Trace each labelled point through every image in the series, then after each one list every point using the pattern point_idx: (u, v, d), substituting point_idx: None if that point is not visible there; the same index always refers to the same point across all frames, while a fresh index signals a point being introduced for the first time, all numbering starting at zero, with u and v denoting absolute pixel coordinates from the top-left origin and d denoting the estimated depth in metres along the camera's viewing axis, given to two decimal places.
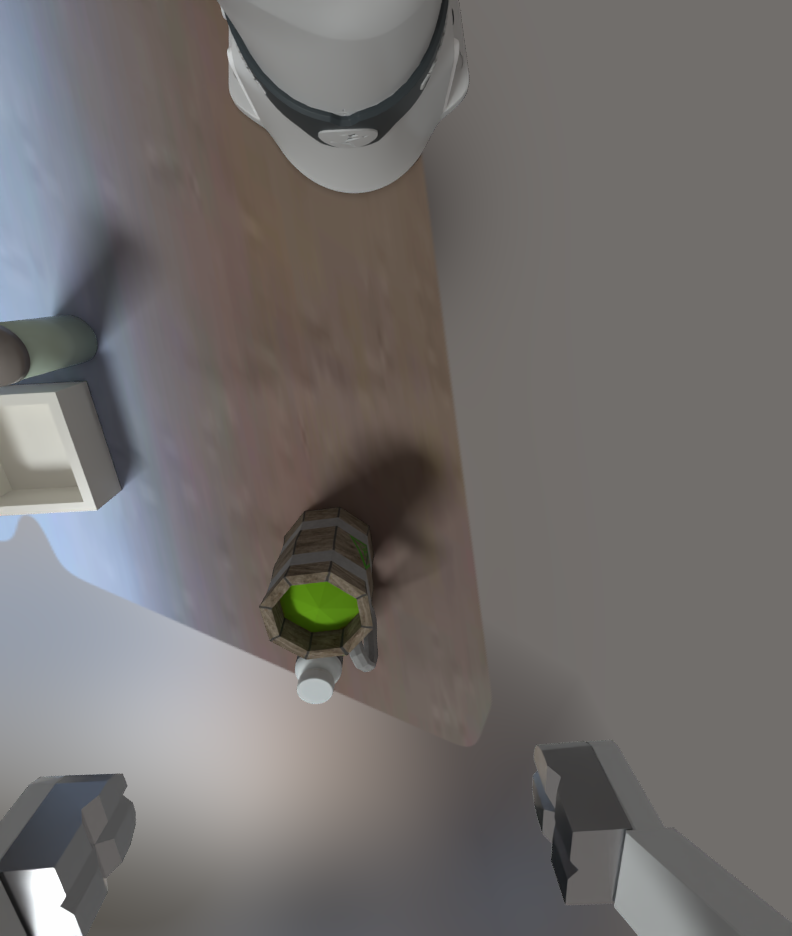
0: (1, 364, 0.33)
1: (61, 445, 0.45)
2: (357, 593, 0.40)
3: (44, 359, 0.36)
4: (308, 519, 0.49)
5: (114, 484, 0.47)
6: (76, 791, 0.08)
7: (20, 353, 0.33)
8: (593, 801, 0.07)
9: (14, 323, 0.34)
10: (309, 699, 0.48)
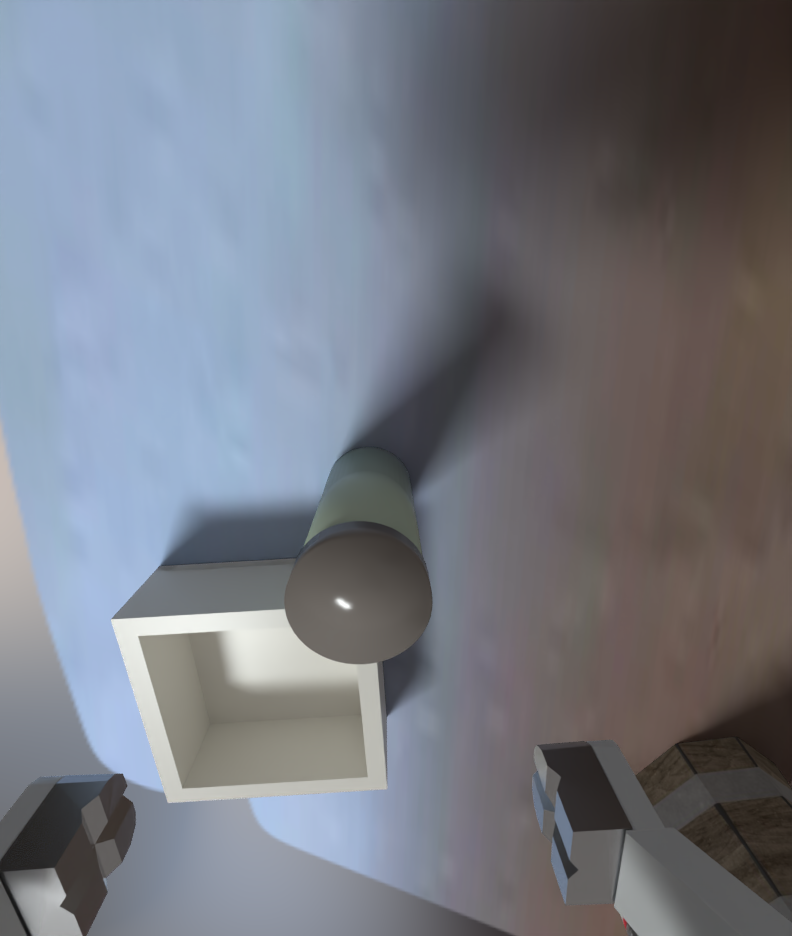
0: (390, 620, 0.14)
1: (310, 656, 0.26)
2: None
3: None
4: (702, 768, 0.28)
5: (385, 715, 0.27)
6: (76, 791, 0.08)
7: None
8: (592, 800, 0.07)
9: (380, 506, 0.16)
10: None
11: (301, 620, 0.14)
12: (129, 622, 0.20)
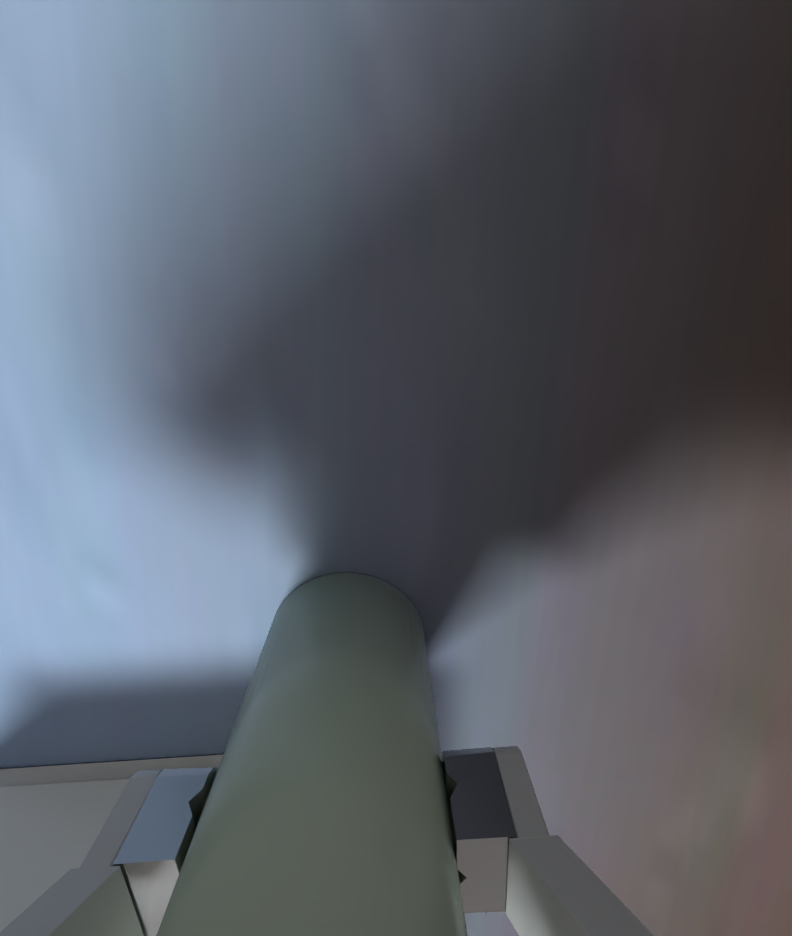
0: None
1: None
2: None
3: None
4: None
5: None
6: (179, 784, 0.08)
7: None
8: (484, 808, 0.07)
9: (356, 915, 0.05)
10: None
11: None
12: None
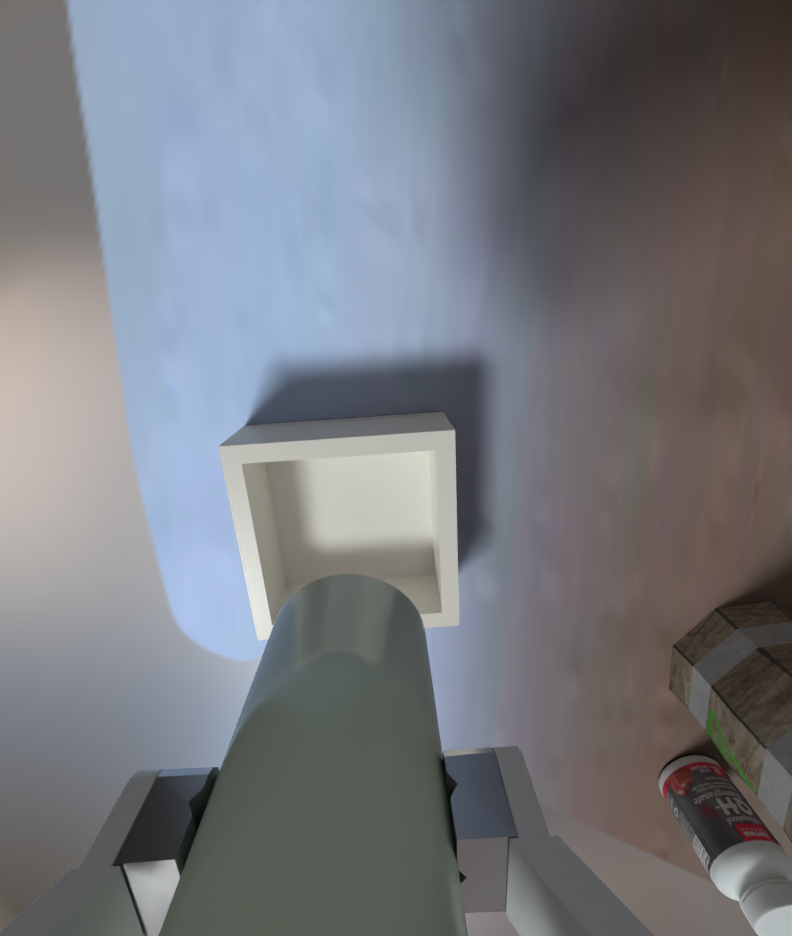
0: None
1: (381, 515, 0.28)
2: None
3: None
4: (742, 624, 0.30)
5: None
6: (179, 784, 0.08)
7: None
8: (483, 808, 0.07)
9: (357, 917, 0.05)
10: (771, 935, 0.29)
11: None
12: (234, 449, 0.22)
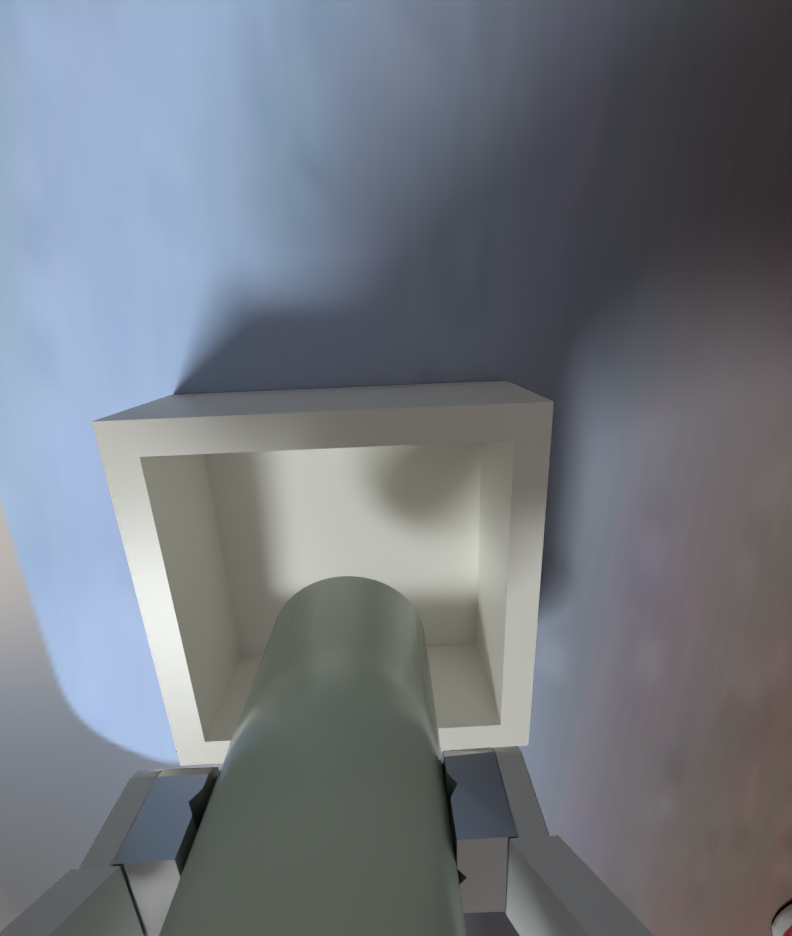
0: None
1: (397, 549, 0.17)
2: None
3: None
4: None
5: None
6: (179, 784, 0.08)
7: None
8: (483, 808, 0.07)
9: (355, 921, 0.05)
10: None
11: None
12: (125, 428, 0.11)
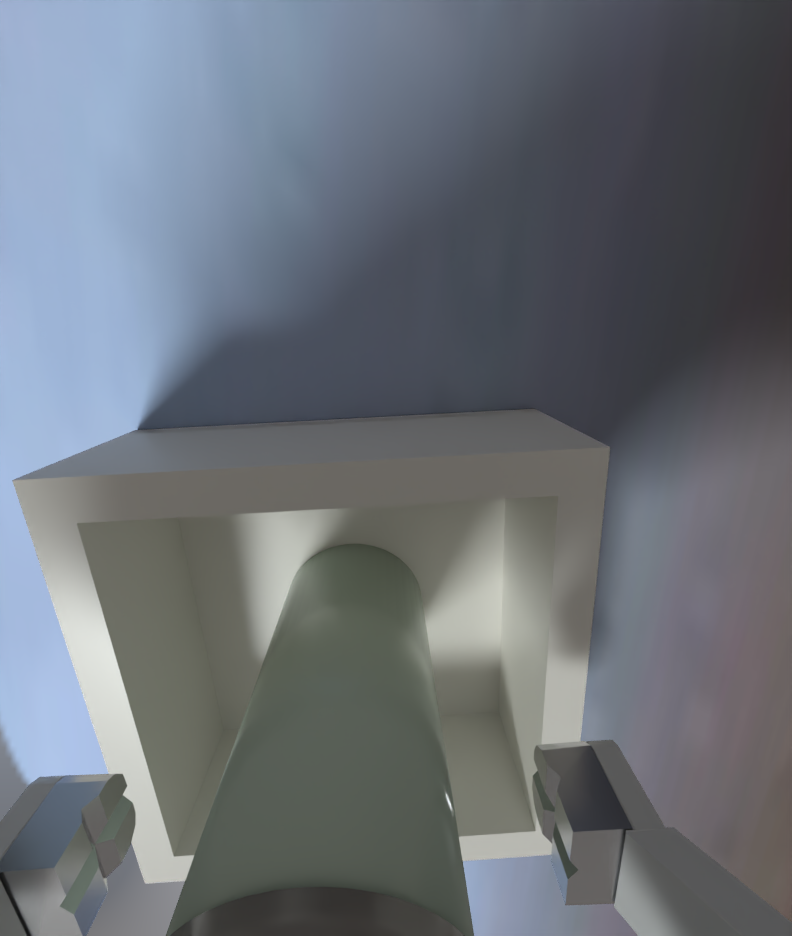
0: None
1: None
2: None
3: None
4: None
5: None
6: (76, 791, 0.08)
7: None
8: (593, 800, 0.07)
9: (369, 765, 0.07)
10: None
11: None
12: (56, 488, 0.09)
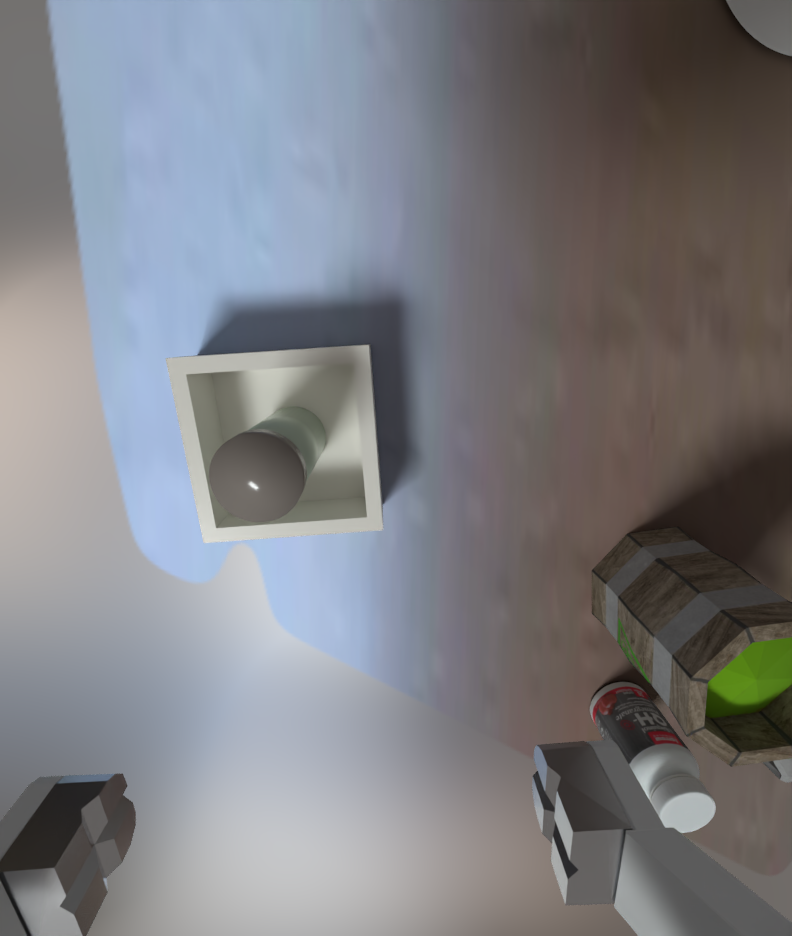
0: (277, 490, 0.22)
1: None
2: None
3: (309, 474, 0.25)
4: (647, 544, 0.34)
5: None
6: (76, 791, 0.08)
7: (304, 472, 0.22)
8: (593, 800, 0.07)
9: (279, 426, 0.24)
10: (676, 826, 0.31)
11: (220, 490, 0.22)
12: (180, 361, 0.26)
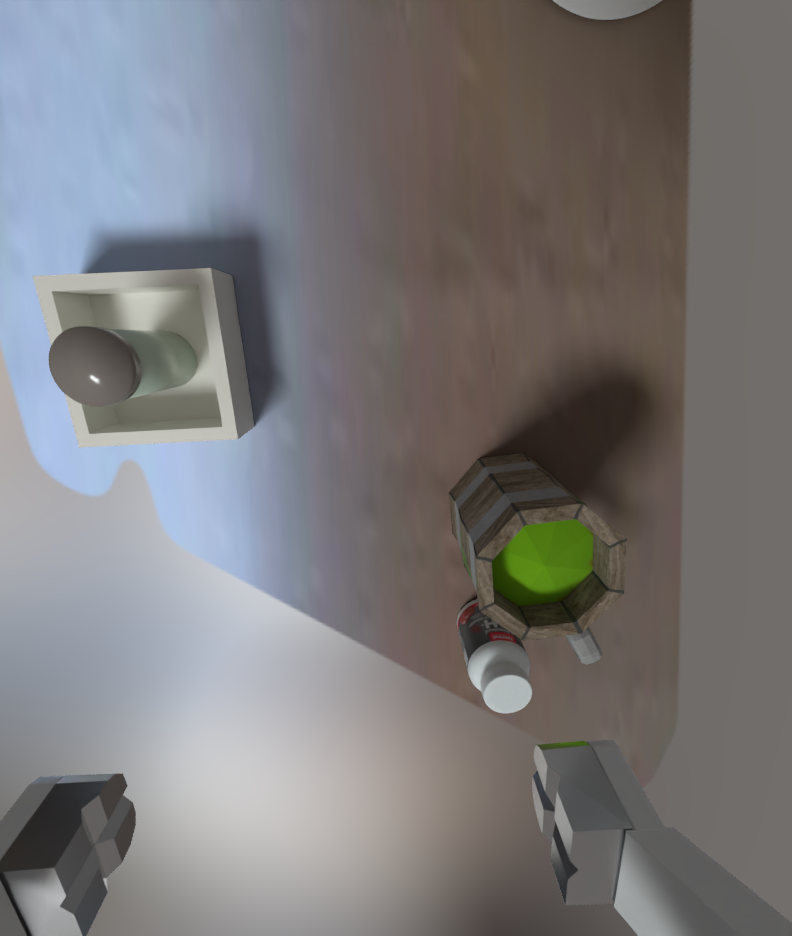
0: (109, 377, 0.26)
1: None
2: (613, 538, 0.29)
3: (153, 375, 0.29)
4: (490, 465, 0.38)
5: (249, 415, 0.37)
6: (76, 791, 0.08)
7: (133, 363, 0.26)
8: (593, 800, 0.07)
9: (122, 330, 0.28)
10: (498, 706, 0.36)
11: (60, 377, 0.26)
12: (45, 279, 0.30)
